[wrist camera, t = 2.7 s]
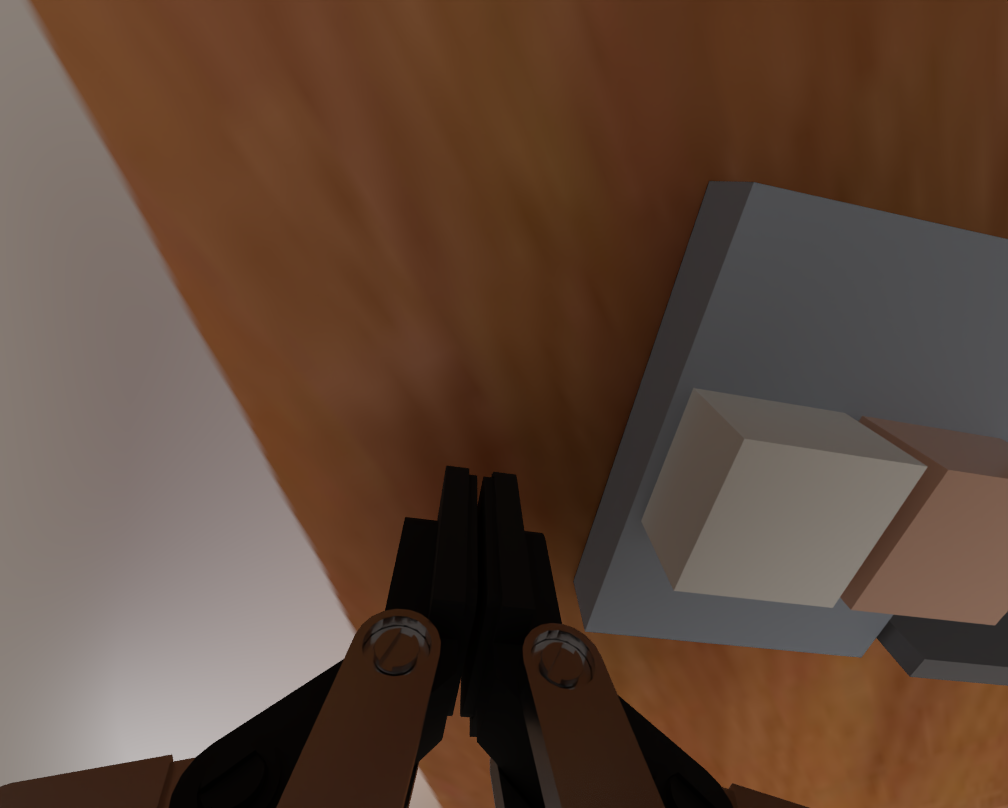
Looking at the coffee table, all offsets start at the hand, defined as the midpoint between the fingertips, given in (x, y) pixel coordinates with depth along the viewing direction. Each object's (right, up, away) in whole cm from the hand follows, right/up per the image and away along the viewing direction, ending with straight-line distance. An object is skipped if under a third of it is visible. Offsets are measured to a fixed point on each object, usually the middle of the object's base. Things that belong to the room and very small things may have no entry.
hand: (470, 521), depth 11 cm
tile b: (+14, 0, +5) cm, 15 cm away
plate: (+11, +1, +7) cm, 13 cm away
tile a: (+8, +1, +4) cm, 9 cm away
